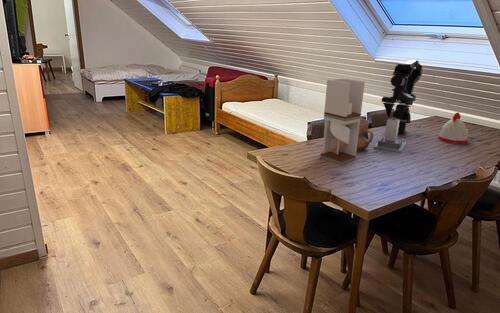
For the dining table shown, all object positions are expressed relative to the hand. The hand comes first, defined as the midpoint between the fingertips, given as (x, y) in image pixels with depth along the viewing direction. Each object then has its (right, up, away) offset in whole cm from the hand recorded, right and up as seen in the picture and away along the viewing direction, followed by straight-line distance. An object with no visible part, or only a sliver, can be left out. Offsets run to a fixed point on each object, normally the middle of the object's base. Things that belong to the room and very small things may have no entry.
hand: (394, 117), depth 209 cm
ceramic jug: (-25, -17, -15) cm, 34 cm away
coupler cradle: (-6, -15, -10) cm, 19 cm away
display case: (-37, -22, -30) cm, 52 cm away
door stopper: (-18, -11, +2) cm, 22 cm away
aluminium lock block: (-6, -15, -11) cm, 20 cm away
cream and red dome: (+33, -12, +5) cm, 36 cm away
